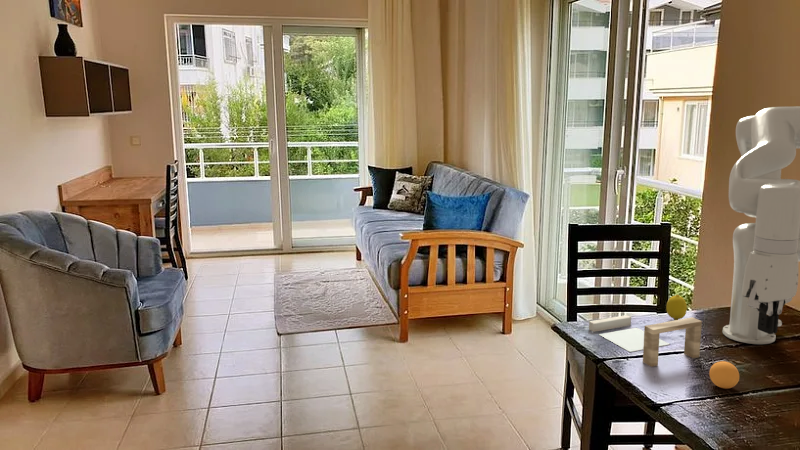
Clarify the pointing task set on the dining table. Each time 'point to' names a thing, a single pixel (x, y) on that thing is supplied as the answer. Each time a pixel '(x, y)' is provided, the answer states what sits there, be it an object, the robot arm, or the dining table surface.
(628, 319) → the wall
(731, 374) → the ball
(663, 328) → the bridge
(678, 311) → the lemon
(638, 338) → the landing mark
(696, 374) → the dining table surface
